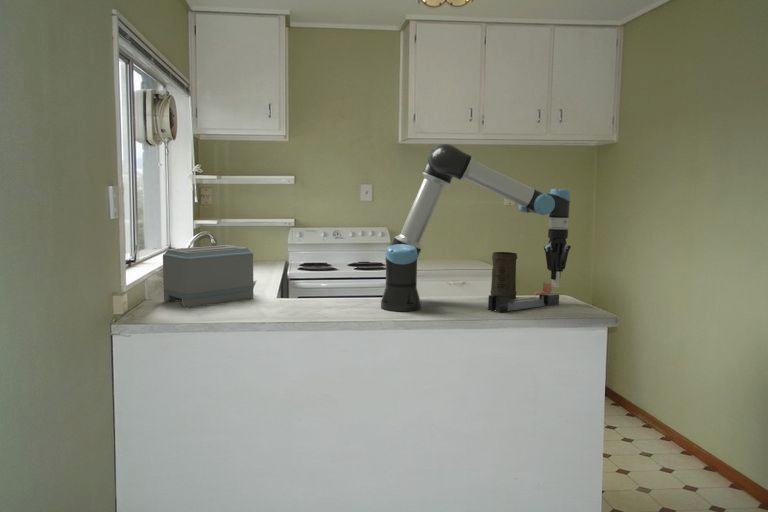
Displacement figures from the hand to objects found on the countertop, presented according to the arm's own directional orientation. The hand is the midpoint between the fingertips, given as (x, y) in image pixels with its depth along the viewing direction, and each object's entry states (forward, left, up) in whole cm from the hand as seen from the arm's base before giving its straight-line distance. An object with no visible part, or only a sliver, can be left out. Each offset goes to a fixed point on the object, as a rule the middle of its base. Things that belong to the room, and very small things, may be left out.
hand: (555, 287), depth 251 cm
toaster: (-132, -31, -7) cm, 136 cm away
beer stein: (-20, +3, -7) cm, 21 cm away
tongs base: (-12, -11, -6) cm, 18 cm away
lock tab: (-6, -6, -2) cm, 8 cm away
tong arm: (-13, -16, -6) cm, 22 cm away
